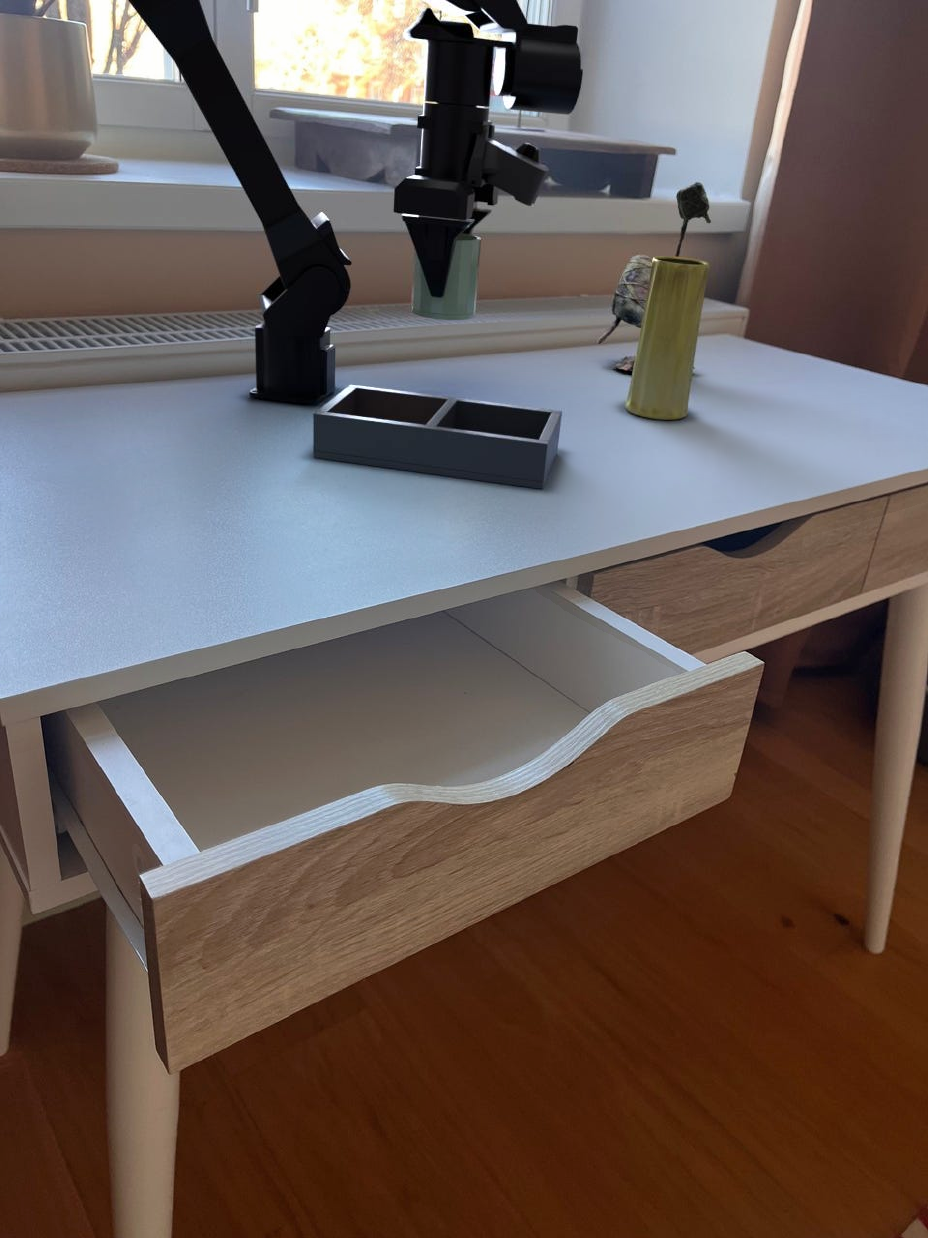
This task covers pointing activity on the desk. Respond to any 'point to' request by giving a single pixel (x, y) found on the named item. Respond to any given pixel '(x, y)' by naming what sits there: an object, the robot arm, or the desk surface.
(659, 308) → the vase
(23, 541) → the desk surface
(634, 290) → the plant with pod
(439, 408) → the holder
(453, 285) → the cup
